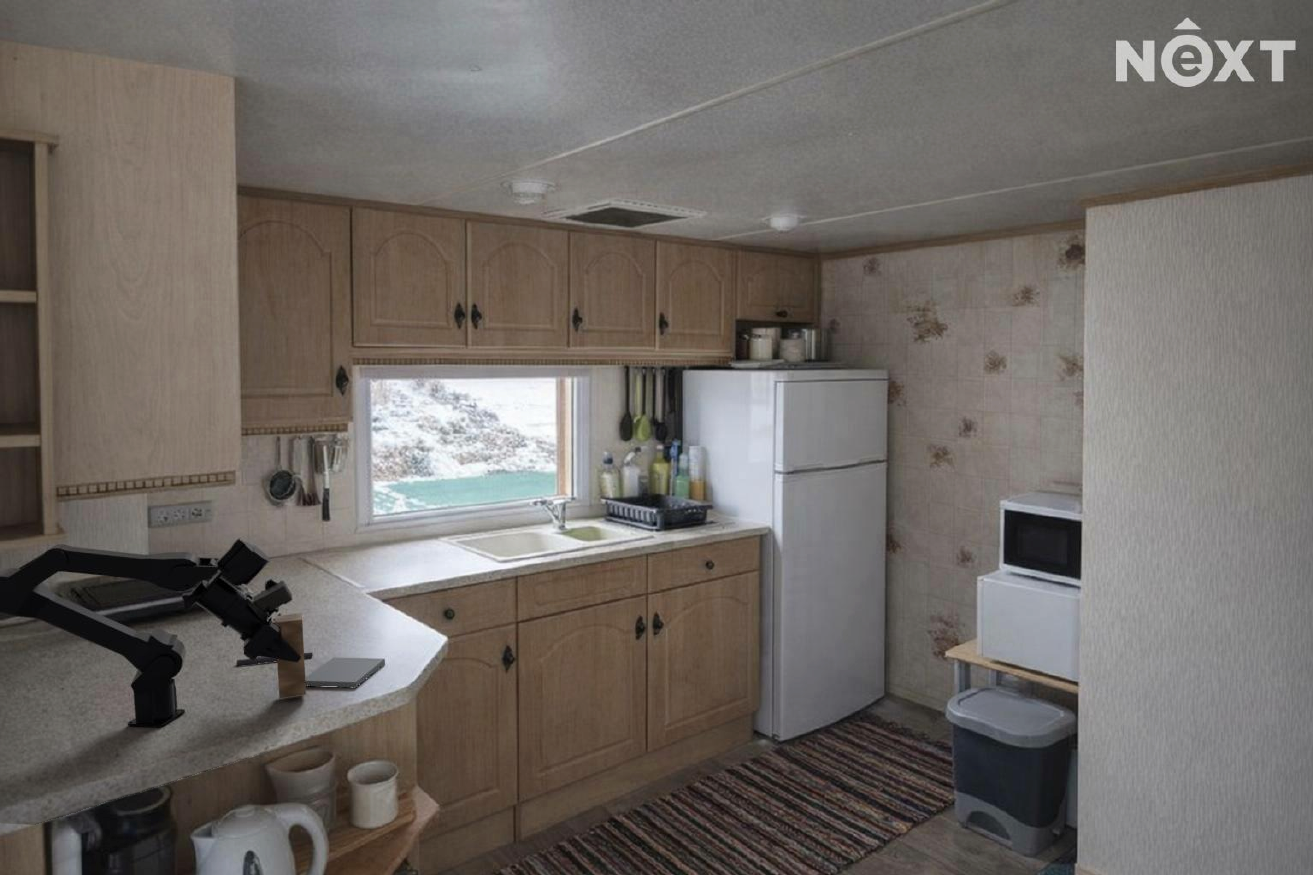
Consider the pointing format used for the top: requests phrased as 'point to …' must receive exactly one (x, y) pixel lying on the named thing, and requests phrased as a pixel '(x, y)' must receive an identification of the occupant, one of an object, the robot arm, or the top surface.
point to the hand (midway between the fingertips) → (299, 655)
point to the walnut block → (288, 671)
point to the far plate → (344, 672)
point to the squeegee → (265, 660)
